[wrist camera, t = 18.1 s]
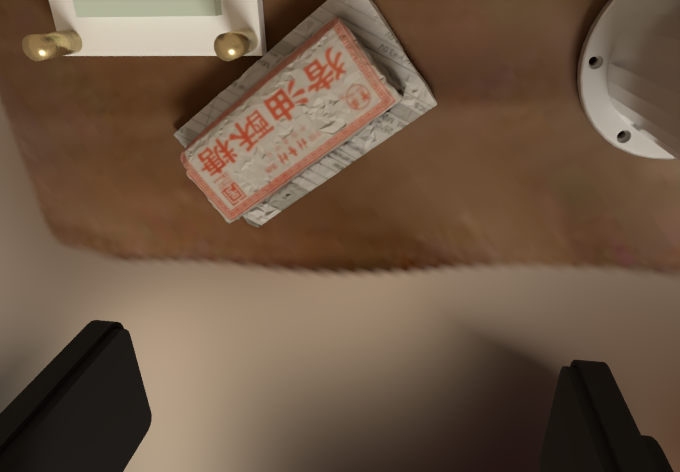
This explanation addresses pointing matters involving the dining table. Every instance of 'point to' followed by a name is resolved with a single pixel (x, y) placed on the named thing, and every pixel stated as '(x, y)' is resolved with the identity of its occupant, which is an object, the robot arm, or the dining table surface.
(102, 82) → the dining table surface
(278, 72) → the packaged product
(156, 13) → the board
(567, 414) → the robot arm
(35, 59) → the chassis
